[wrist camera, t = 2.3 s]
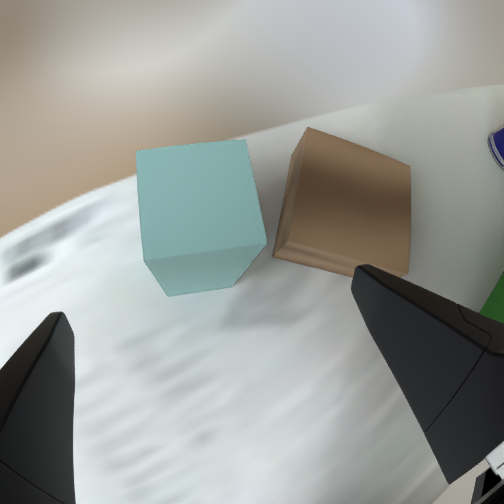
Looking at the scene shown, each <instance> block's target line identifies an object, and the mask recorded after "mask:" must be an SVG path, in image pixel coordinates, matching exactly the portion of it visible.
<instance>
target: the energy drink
mask: <svg viewBox="0 0 504 504" xmlns="http://www.w3.org/2000/svg"><path fill="white" fill-rule="evenodd" d="M488 145H489V149H490V152H491V154H492V156H493V158H494V159H495V161H496V162H497V164H498V165H499V166H500V167H501V168H502V169H503V170H504V124H503V125H502V126H501V127H499V128H498V129H497V130H495V131H494V132H493V133H491V134H490V135H489V138H488Z"/></svg>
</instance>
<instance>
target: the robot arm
mask: <svg viewBox="0 0 504 504" xmlns="http://www.w3.org/2000/svg"><path fill="white" fill-rule="evenodd" d="M351 291H352V294H353V297H354V299H355V301H356V303H357V305H358V308H359V310H360V312H361V314H362V317H363V319H364V321H365V323H366V326H367V328H368V330H369V332H370V334H371V335H372V337H373V339H374V341H375V343H376V344H377V346H378V348H379V350H380V351H381V353H382V355H383V357H384V359H385V360H386V362H387V364H388V366H389V368H390V369H391V371H392V373H393V375H394V377H395V379H396V380H397V382H398V384H399V386H400V388H401V390H402V392H403V393H404V395H405V397H406V399H407V401H408V403H409V405H410V407H411V409H412V411H413V413H414V415H415V416H416V418H417V420H418V422H419V424H420V426H421V428H422V430H423V432H424V435H425V437H426V439H427V441H428V443H429V445H430V447H431V449H432V451H433V453H434V455H435V457H436V459H437V461H438V463H439V465H440V468H441V470H442V472H443V474H444V476H445V478H446V480H447V482H448V484H451V483H452V482H454V481H455V480H457V479H458V478H459V477H461V476H462V475H464V474H465V473H466V472H468V471H469V470H471V469H472V468H473V467H474V466H476V465H477V464H478V463H480V462H481V461H482V460H483V459H486V461H487V462H488V464H489V465H490V467H489V468H488V469H487V470H486V471H484V472H483V473H482V474H481V475H479V476H478V477H477V478H476V482H475V487H474V492H473V496H472V501H471V504H504V323H502V322H499V321H497V320H494V319H491V318H489V317H487V316H484V315H482V314H479V313H477V312H475V311H472V310H470V309H468V308H466V307H464V306H462V305H459V304H456V303H455V302H453V301H451V300H448V299H446V298H444V297H442V296H440V295H437V294H435V293H433V292H431V291H429V290H426V289H424V288H422V287H420V286H418V285H415V284H413V283H411V282H409V281H406V280H404V279H402V278H399V277H397V276H395V275H393V274H390V273H388V272H386V271H384V270H381V269H379V268H377V267H374V266H372V265H370V264H363V265H358V266H356V268H355V270H354V275H353V280H352V285H351ZM74 394H75V356H74V333H73V331H72V328H71V326H70V324H69V322H68V320H67V318H66V315H65V314H64V313H63V312H52V313H50V314H49V315H48V316H47V317H46V318H45V319H44V320H43V321H42V323H41V324H40V325H39V326H38V327H37V328H36V329H35V330H34V331H33V332H32V334H31V335H30V336H29V337H28V338H27V339H26V340H25V341H24V343H23V344H22V345H21V346H20V347H19V348H18V349H17V351H16V352H15V353H14V354H13V355H12V356H11V358H10V359H9V360H8V361H7V362H6V363H5V365H4V366H3V367H2V368H1V369H0V504H76V502H75V488H74V468H73V415H74Z"/></svg>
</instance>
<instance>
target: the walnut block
mask: <svg viewBox="0 0 504 504" xmlns="http://www.w3.org/2000/svg"><path fill="white" fill-rule="evenodd" d="M410 225H411V181H410V166H409V165H406V164H404V163H402V162H399V161H397V160H395V159H392V158H390V157H388V156H385V155H383V154H380V153H378V152H375V151H373V150H370V149H368V148H365V147H363V146H360V145H357V144H355V143H352V142H349V141H347V140H344V139H341V138H338V137H336V136H333V135H330V134H327V133H324V132H321V131H318V130H315V129H312V128H309V127H307V129H306V131H305V132H304V134H303V136H302V138H301V140H300V141H299V143H298V145H297V147H296V149H295V150H294V152H293V154H292V157H291V162H290V168H289V173H288V178H287V184H286V189H285V194H284V199H283V205H282V210H281V215H280V220H279V225H278V231H277V236H276V241H275V246H274V251H273V256H272V257H274V258H278V259H282V260H286V261H290V262H294V263H298V264H302V265H306V266H310V267H314V268H318V269H321V270H325V271H329V272H333V273H337V274H341V275H345V276H349V277H353V275H354V270H355V268H356V266H358V265H363V264H370V265H372V266H374V267H377V268H379V269H381V270H384V271H386V272H388V273H390V274H393V275H395V276H397V277H401V276H404V275H407V274H408V268H409V252H410Z"/></svg>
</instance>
